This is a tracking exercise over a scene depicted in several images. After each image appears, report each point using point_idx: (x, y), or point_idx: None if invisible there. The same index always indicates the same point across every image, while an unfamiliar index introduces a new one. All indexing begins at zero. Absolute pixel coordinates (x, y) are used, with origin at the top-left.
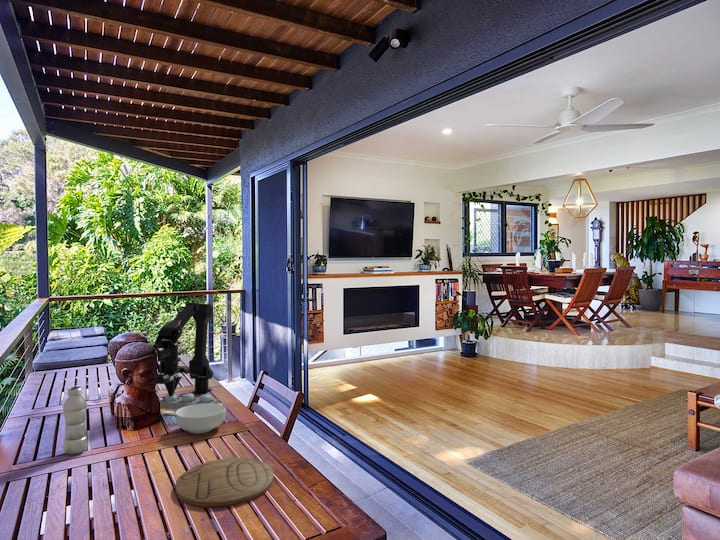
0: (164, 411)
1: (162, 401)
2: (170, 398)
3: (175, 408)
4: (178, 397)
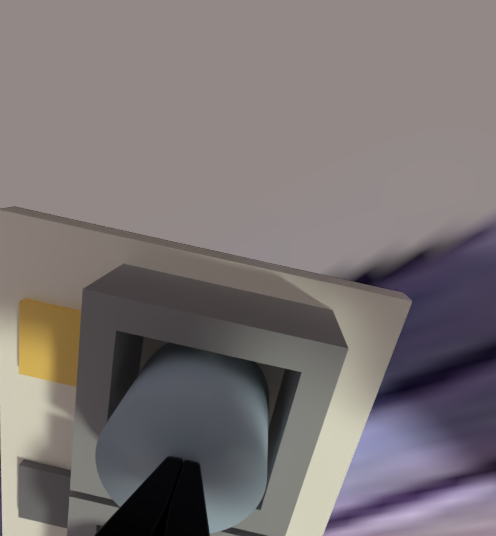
0: (25, 373)
1: (103, 350)
2: (111, 469)
3: None
4: (285, 484)
